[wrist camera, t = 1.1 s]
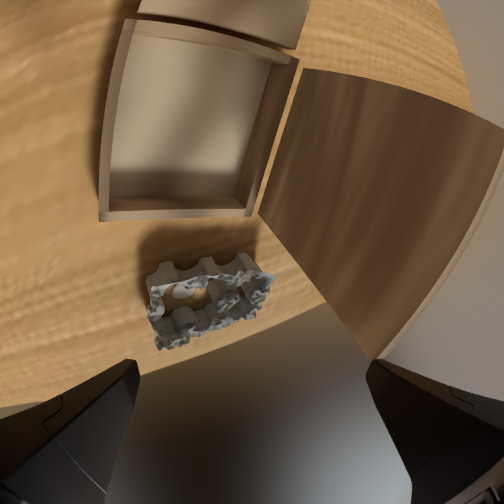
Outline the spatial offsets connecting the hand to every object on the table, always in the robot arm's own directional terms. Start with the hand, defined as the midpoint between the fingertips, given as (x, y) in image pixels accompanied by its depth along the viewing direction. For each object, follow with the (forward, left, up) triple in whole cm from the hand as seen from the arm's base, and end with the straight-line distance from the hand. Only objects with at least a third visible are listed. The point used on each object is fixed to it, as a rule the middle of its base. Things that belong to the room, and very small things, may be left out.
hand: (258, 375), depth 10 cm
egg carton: (+7, -5, -13) cm, 16 cm away
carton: (-6, +9, -13) cm, 17 cm away
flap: (+1, +8, -10) cm, 13 cm away
